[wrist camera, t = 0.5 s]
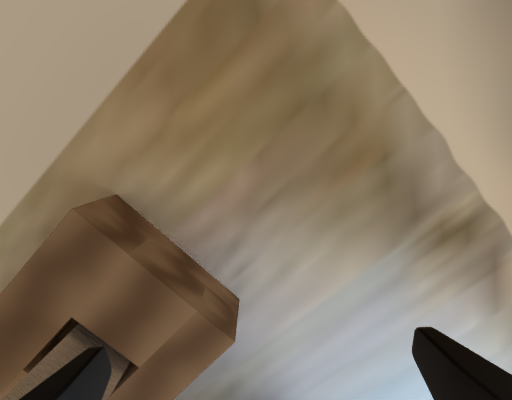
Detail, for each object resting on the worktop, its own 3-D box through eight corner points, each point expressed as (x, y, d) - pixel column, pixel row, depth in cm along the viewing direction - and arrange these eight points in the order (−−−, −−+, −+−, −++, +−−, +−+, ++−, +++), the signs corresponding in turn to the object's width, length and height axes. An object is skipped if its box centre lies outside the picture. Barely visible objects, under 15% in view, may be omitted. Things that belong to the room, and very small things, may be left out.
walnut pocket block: (239, 299, 24) (234, 342, 19) (113, 419, 27) (78, 486, 22) (116, 194, 22) (72, 208, 17) (-7, 336, 25) (-78, 387, 20)
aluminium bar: (145, 335, 23) (63, 474, 13) (112, 368, 24) (10, 525, 14) (101, 300, 22) (-21, 421, 12) (68, 336, 23) (-73, 477, 13)
